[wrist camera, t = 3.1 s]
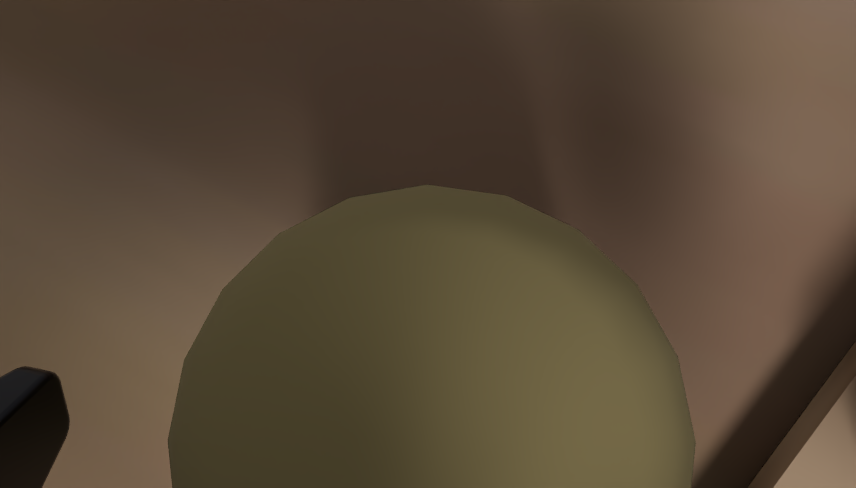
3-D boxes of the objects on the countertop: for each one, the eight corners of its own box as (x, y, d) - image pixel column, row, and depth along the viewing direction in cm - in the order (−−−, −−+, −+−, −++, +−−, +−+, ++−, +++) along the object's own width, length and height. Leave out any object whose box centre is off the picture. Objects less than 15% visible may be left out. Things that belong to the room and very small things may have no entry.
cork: (428, 615, 17) (325, 1035, 6) (267, 375, 18) (-65, 368, 7) (660, 441, 17) (962, 543, 6) (488, 214, 18) (493, -32, 7)
